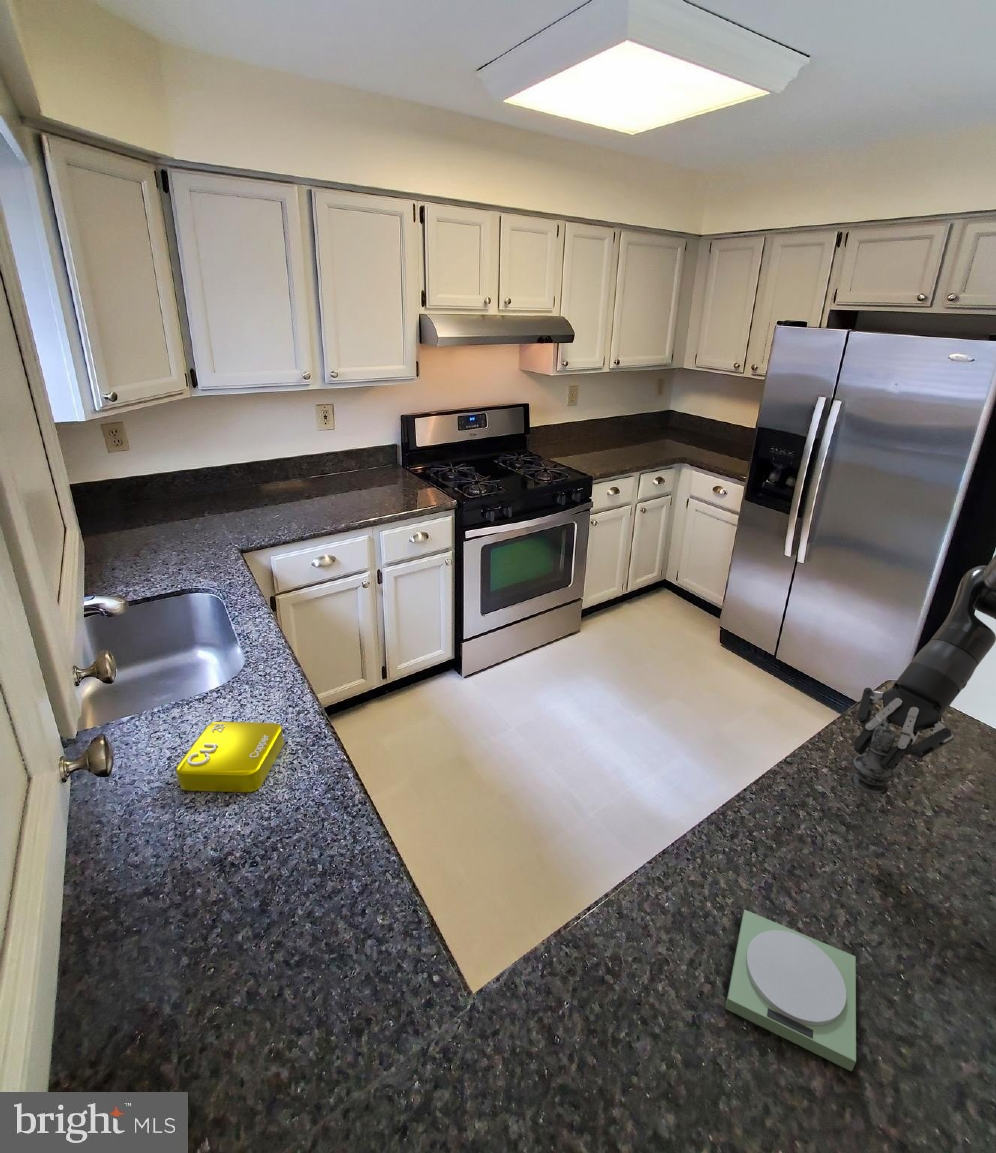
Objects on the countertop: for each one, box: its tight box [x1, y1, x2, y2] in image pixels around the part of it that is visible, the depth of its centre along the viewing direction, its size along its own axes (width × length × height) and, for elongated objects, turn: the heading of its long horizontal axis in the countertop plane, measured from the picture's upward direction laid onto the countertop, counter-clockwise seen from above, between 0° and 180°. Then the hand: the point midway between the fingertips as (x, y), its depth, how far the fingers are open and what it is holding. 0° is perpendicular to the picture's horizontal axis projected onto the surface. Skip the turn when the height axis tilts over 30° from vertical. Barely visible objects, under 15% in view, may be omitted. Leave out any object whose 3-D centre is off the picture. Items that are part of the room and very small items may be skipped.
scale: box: [724, 909, 857, 1072], centre depth 77 cm, size 14×14×3 cm
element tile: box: [175, 721, 285, 794], centre depth 113 cm, size 15×15×5 cm
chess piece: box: [850, 724, 897, 797], centre depth 95 cm, size 6×6×12 cm
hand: (870, 759), depth 95 cm, fingers closed on chess piece, 3 cm apart
